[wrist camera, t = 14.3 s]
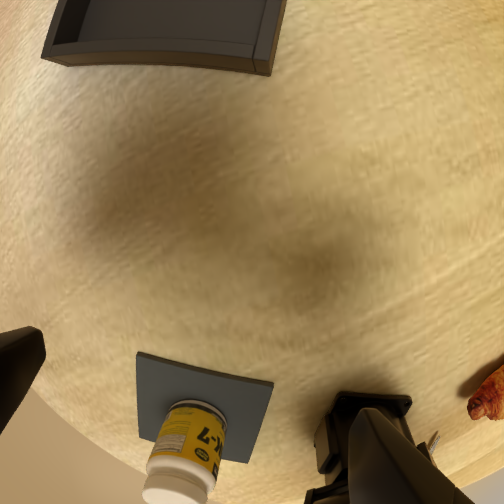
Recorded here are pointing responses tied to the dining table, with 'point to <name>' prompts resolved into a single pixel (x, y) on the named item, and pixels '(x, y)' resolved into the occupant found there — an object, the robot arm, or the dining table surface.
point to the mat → (205, 390)
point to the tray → (167, 33)
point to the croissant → (489, 398)
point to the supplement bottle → (186, 455)
